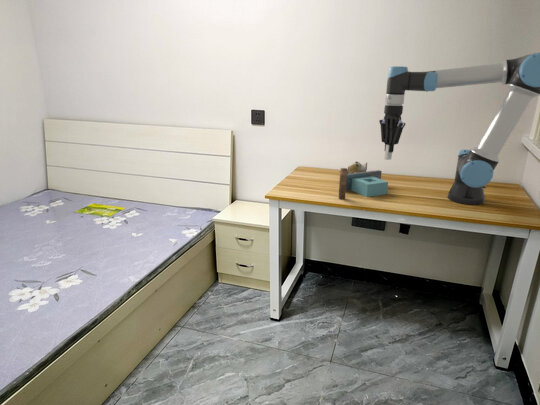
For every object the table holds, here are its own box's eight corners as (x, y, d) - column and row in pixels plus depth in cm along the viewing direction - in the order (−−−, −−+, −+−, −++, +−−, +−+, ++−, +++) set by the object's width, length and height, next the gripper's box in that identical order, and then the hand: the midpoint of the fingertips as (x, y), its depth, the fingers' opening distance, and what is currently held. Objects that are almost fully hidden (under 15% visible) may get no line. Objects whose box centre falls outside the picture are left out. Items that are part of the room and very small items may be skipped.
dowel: (346, 198, 181) (348, 169, 177) (341, 199, 180) (343, 169, 176) (342, 197, 184) (344, 167, 179) (337, 197, 182) (339, 168, 178)
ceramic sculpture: (372, 161, 216) (348, 165, 212) (372, 176, 219) (348, 180, 215) (361, 158, 226) (338, 161, 221) (361, 172, 229) (338, 176, 224)
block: (386, 194, 189) (388, 181, 187) (366, 197, 184) (367, 184, 182) (371, 187, 199) (372, 176, 197) (351, 190, 194) (352, 178, 193)
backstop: (380, 186, 202) (381, 170, 199) (341, 191, 192) (342, 175, 189) (377, 185, 203) (379, 170, 201) (338, 190, 194) (339, 174, 191)
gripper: (376, 103, 171) (371, 157, 178) (399, 106, 160) (393, 163, 168) (388, 103, 175) (383, 155, 182) (412, 105, 164) (405, 161, 171)
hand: (387, 159), depth 175 cm, fingers closed
